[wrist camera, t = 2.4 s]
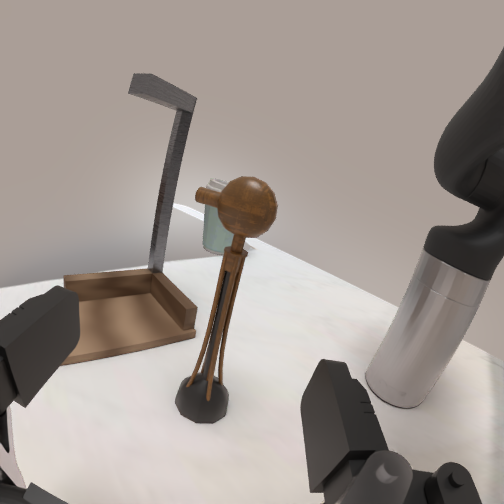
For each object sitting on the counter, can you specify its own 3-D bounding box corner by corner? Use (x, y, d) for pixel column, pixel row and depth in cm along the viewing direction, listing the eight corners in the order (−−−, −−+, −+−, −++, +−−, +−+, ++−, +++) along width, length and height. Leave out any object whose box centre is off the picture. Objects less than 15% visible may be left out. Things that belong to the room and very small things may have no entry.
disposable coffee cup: (234, 244, 71) (249, 184, 66) (246, 262, 61) (264, 192, 57) (191, 239, 67) (204, 175, 62) (196, 256, 57) (212, 182, 53)
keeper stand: (154, 292, 40) (190, 98, 32) (194, 337, 33) (248, 96, 25) (26, 307, 27) (41, 72, 19) (36, 369, 20) (45, 46, 12)
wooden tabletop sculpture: (156, 399, 23) (187, 163, 17) (182, 374, 27) (222, 166, 21) (213, 432, 21) (281, 187, 15) (235, 401, 25) (299, 187, 19)
